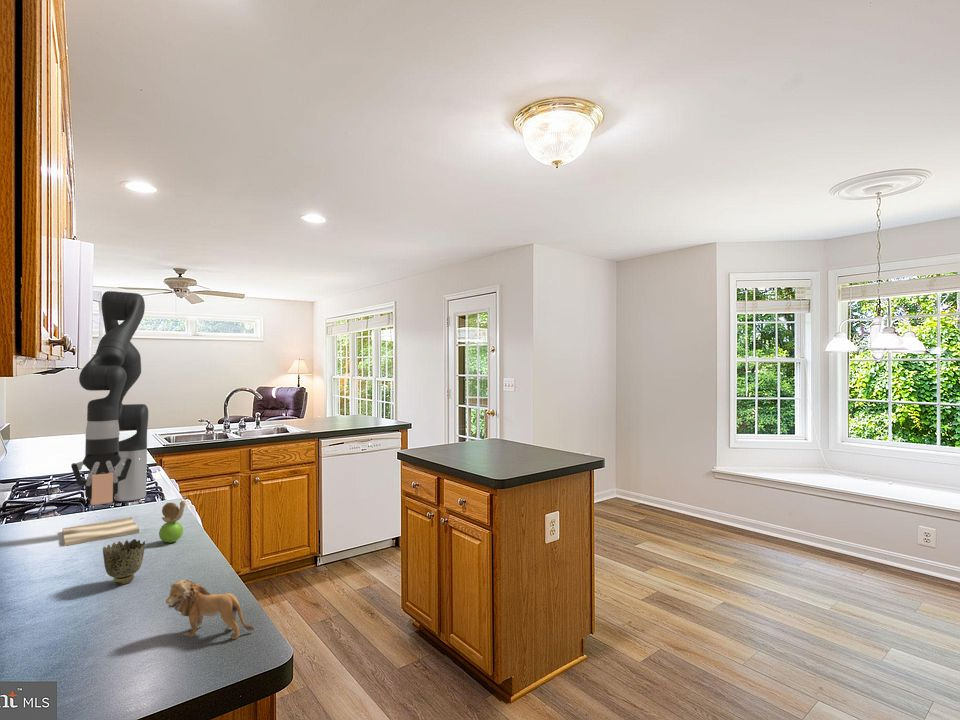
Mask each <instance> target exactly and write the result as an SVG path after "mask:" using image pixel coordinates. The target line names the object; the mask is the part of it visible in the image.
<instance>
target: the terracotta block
mask: <svg viewBox="0 0 960 720" xmlns="http://www.w3.org/2000/svg"><path fill="white" fill-rule="evenodd" d="M91 486H92V499H91V500H89V501H90V504H91V506H96V505H102V504H111V503H113V502H114V501H113V500H114V499H113V498H114V496H113V473H109V472H108V473H104V472H102V473H98V474H95V475H92V483H91Z"/></svg>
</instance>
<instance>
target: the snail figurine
mask: <svg viewBox="0 0 960 720" xmlns="http://www.w3.org/2000/svg"><path fill="white" fill-rule="evenodd" d="M186 499H187V496H185V495H184V496H183V497H182V500H181V501H180V502H179V506H178V504H176V503H174V502H167V503H165V504H164V505H163V506H162V509H161V513H162V515H163V517H161V519H162V521H164V522H165V523H164V524H162V525H161V527H160V528H159V532H158V536H159V539H160V540H161V541H162V542H165V543H168V544H171V543H174V542H177V541H178V540H179V539H181V537H182V536H183V532H184V528H183V527H184V526H183V525H182V524H181V523H180V522H179V520H180V519H182V516H183V514H184V511H185V506H186V504H187V503H186Z"/></svg>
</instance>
